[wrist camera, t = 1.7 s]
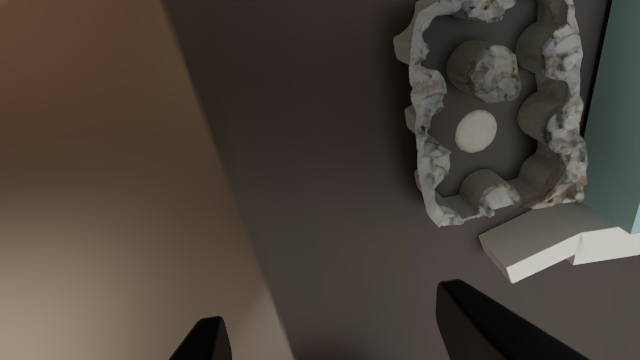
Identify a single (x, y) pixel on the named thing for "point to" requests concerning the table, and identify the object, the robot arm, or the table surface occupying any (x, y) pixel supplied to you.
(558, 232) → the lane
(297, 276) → the table surface
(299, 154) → the table surface
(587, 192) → the bar
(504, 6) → the egg carton
